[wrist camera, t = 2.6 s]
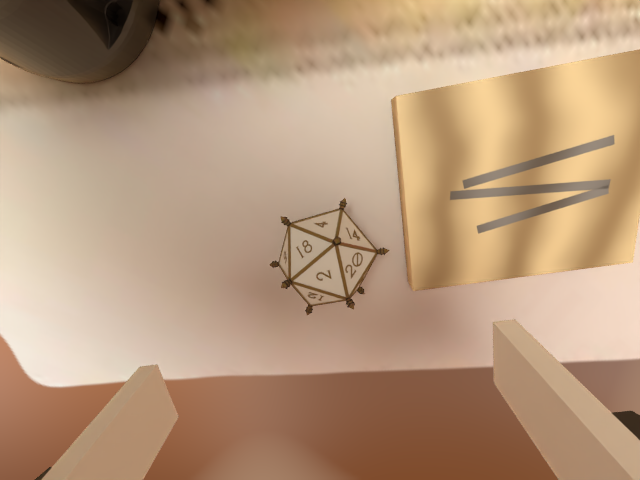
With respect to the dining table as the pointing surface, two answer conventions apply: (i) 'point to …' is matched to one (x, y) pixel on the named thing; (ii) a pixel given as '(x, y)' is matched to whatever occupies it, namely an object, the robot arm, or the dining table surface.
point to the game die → (326, 257)
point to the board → (520, 173)
